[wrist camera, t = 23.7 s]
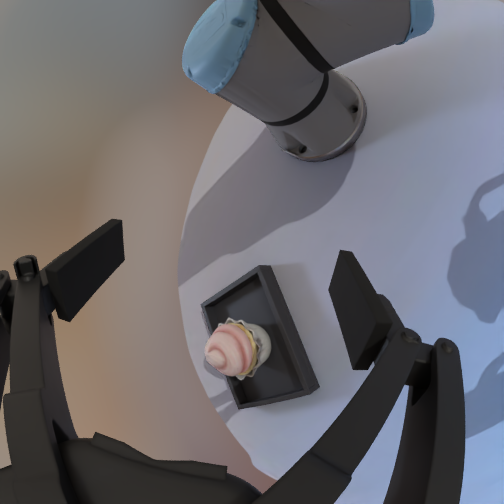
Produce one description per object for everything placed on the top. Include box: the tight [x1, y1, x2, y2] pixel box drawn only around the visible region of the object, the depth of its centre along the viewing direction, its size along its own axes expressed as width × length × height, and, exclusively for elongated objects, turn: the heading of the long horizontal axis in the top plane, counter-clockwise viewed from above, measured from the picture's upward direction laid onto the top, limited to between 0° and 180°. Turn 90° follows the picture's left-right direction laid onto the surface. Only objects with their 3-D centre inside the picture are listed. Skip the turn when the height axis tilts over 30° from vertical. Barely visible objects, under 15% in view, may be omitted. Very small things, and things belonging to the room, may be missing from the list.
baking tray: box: [201, 265, 319, 409], centre depth 41 cm, size 20×15×3 cm
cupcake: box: [205, 318, 271, 380], centre depth 38 cm, size 9×9×10 cm
